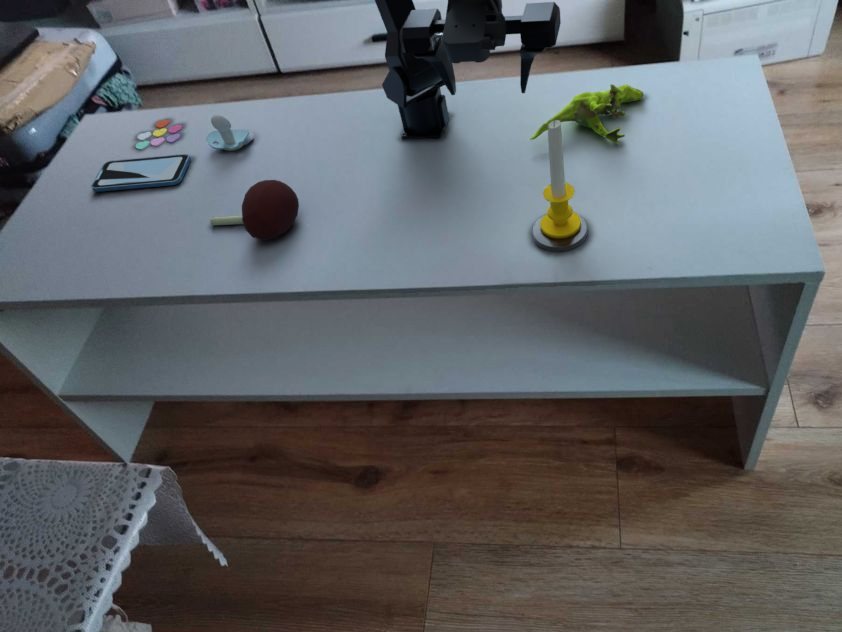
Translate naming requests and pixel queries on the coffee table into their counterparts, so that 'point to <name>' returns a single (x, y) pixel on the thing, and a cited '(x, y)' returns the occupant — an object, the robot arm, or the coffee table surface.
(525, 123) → the coffee table surface
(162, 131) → the candy hearts
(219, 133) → the pacifier
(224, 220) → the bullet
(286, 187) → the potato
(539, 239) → the coaster
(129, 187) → the smartphone
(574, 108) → the dinosaur figurine
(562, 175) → the candle
